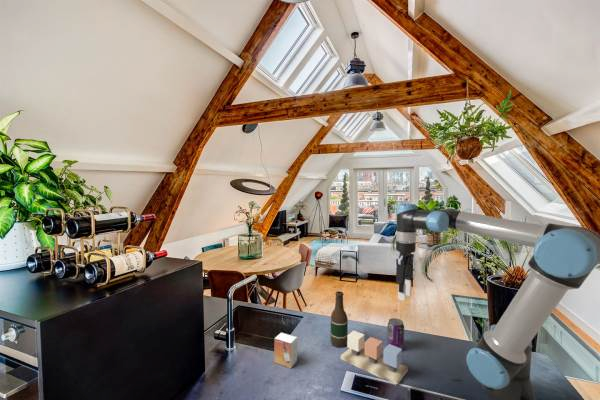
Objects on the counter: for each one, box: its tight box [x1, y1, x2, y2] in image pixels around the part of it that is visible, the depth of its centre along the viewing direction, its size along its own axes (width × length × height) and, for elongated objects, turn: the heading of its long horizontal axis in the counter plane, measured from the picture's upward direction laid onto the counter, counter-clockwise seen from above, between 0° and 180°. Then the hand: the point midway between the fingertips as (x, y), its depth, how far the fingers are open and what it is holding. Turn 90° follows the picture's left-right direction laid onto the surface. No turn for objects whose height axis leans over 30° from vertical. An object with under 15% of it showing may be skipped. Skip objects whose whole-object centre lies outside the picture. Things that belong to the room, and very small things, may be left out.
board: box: [340, 347, 409, 384], centre depth 115 cm, size 24×11×6 cm, turn 49°
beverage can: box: [386, 317, 405, 350], centre depth 127 cm, size 7×7×12 cm
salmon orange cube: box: [364, 336, 383, 360], centre depth 115 cm, size 5×5×5 cm
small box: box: [273, 332, 298, 369], centre depth 116 cm, size 8×6×10 cm
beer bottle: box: [330, 290, 349, 349], centre depth 130 cm, size 8×8×24 cm
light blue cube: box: [382, 344, 403, 368], centre depth 110 cm, size 5×5×5 cm
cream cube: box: [346, 330, 366, 352], centre depth 120 cm, size 5×5×5 cm
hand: (404, 297), depth 117 cm, fingers open, 5 cm apart
